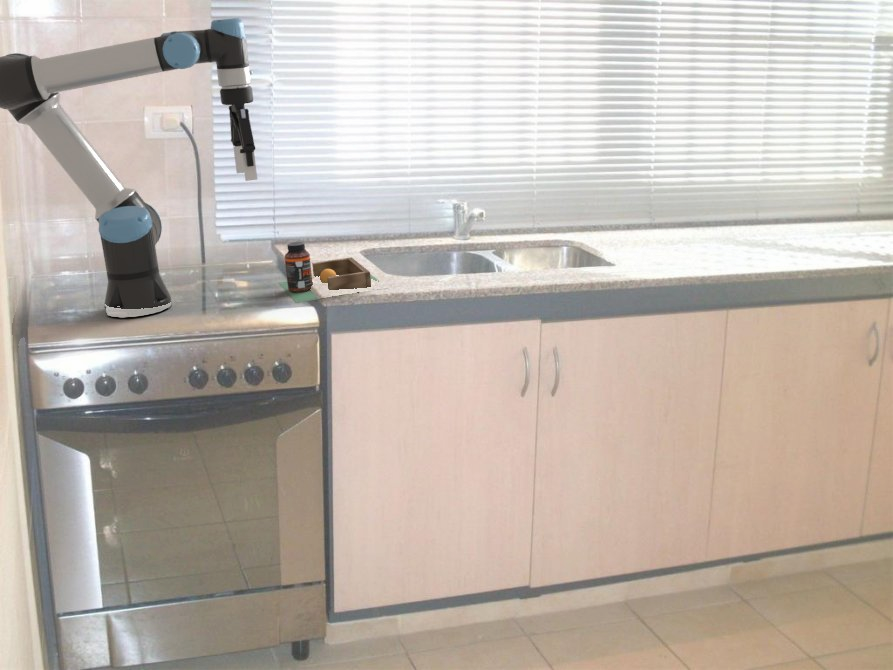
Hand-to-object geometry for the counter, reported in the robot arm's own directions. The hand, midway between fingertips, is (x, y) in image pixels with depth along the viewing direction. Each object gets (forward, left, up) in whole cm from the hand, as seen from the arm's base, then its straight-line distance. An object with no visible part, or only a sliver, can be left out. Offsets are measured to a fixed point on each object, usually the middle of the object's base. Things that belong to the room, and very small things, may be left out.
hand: (246, 176), depth 269 cm
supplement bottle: (+7, -14, -26) cm, 31 cm away
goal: (+17, -14, -26) cm, 34 cm away
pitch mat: (+15, -15, -27) cm, 34 cm away
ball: (+14, -13, -22) cm, 30 cm away
